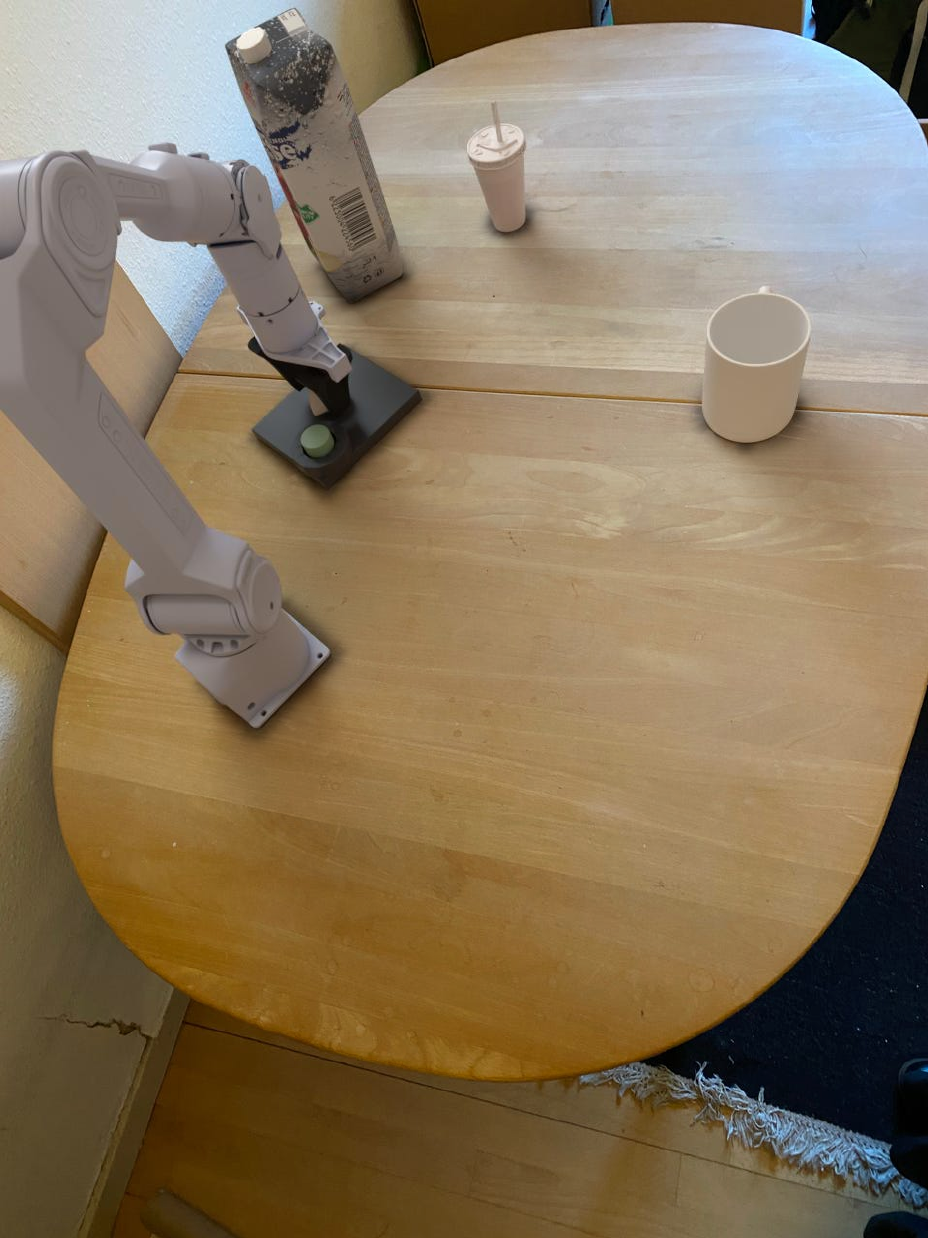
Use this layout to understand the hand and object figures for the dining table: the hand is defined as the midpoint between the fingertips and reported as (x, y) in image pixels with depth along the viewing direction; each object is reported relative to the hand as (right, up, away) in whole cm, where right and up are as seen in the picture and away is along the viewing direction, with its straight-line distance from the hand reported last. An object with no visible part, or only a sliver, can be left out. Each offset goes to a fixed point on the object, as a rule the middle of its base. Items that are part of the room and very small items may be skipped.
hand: (323, 396), depth 86 cm
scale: (+1, -2, +2) cm, 3 cm away
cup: (+42, -2, -7) cm, 42 cm away
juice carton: (+3, +18, +12) cm, 22 cm away
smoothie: (+20, +23, +11) cm, 32 cm away
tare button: (0, -6, -3) cm, 6 cm away
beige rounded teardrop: (+1, -1, +1) cm, 2 cm away
